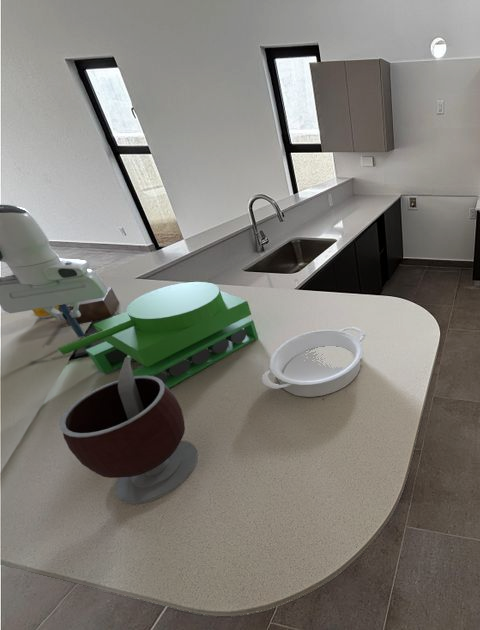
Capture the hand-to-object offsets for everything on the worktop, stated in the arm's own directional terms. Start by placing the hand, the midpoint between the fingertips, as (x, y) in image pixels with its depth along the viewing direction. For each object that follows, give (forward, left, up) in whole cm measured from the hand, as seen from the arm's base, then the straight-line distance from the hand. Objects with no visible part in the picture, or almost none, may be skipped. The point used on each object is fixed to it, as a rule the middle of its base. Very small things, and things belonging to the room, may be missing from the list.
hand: (70, 317), depth 91 cm
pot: (+57, -44, -8) cm, 72 cm away
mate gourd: (+24, -58, -8) cm, 63 cm away
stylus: (0, 0, -7) cm, 7 cm away
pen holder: (-2, +20, -8) cm, 21 cm away
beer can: (-15, +26, -8) cm, 31 cm away
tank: (+23, -21, -8) cm, 32 cm away
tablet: (0, +2, -8) cm, 8 cm away
